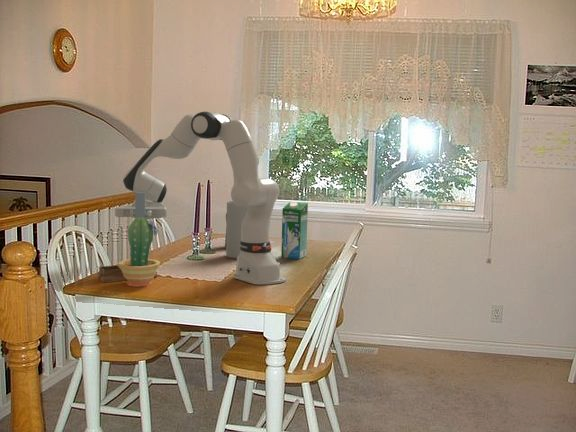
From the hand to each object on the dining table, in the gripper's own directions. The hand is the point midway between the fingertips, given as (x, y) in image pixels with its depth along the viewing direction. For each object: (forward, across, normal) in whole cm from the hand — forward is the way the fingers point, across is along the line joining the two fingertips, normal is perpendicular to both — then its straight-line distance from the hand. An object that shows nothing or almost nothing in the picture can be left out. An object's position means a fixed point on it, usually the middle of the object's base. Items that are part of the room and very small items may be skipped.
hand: (140, 214), depth 260 cm
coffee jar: (-58, +43, +25) cm, 76 cm away
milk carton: (-33, +68, +24) cm, 80 cm away
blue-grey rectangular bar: (-1, 0, +10) cm, 10 cm away
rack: (+5, -5, +24) cm, 25 cm away
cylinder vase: (-34, +43, +24) cm, 60 cm away
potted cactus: (+15, 0, +24) cm, 29 cm away
